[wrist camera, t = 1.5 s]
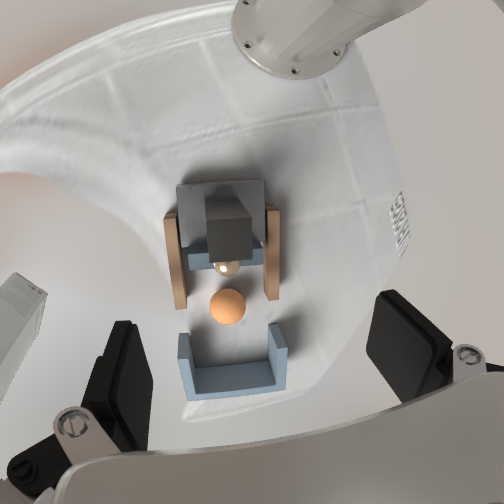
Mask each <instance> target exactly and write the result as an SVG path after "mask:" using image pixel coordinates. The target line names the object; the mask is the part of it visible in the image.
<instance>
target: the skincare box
mask: <svg viewBox="0 0 504 504" xmlns="http://www.w3.org/2000/svg"><path fill="white" fill-rule="evenodd" d="M47 295H48V294H47V292H45V291H44V290H42V289H40V288H38V287H37V286H35V285H34V284H33V283H31V282H30V281H28V280H27V279H25V278H24V277H22V276H21V275H19V274H18V273H14V274H12V275H11V276H10V278H9V279H7V281H6V282H5V283H4V284H3V285H2V286H1V287H0V405H1V403H2V401H3V398H4V396H5V394H6V392H7V390H8V388H9V386H10V384H11V382H12V380H13V378H14V376H15V374H16V372H17V370H18V369H19V367H20V365H21V363H22V361H23V359H24V357H25V356H26V354H27V352H28V350H29V349H30V347H31V345H32V343H33V342H34V340H35V338H36V337H37V335H38V333H39V329H40V324H41V320H42V316H43V311H44V307H45V301H46V297H47Z"/></svg>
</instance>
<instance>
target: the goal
mask: <svg viewBox="0 0 504 504" xmlns="http://www.w3.org/2000/svg"><path fill="white" fill-rule="evenodd" d="M287 353H288V347H287V344H286V342H285V340H284V338H283V335H282V333H281V331H280V328H279V326H278V324H270V325H268V360H265V361H258V362H250V363H242V364H233V365H223V366H213V367H202V368H195V367H194V361H193V356H192V350H191V345H190V339H189V333H180V334H179V342H178V364H179V368H180V372H181V377H182V380H183V385H184V389H185V393H186V396H187V401H197V400H210V399H220V398H230V397H239V396H247V395H254V394H261V393H268V392H274V391H280V390H285V386H286V370H287Z"/></svg>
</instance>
